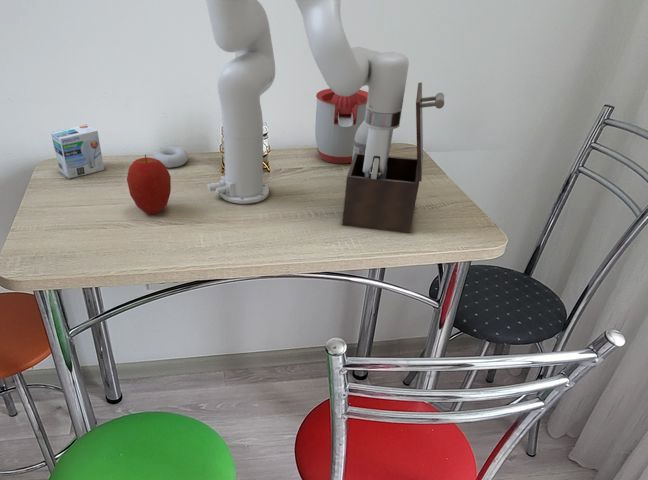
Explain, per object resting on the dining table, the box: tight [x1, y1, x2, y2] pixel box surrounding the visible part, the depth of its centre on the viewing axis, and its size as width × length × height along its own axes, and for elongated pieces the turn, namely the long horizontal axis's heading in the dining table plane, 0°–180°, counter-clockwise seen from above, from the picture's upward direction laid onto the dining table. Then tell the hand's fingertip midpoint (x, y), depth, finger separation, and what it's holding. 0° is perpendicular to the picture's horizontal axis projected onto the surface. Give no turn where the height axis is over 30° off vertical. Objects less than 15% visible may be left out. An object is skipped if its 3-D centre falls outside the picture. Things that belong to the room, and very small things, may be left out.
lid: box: [415, 82, 445, 183], centre depth 121 cm, size 16×15×5 cm
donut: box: [152, 145, 189, 169], centre depth 159 cm, size 10×4×10 cm
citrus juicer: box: [314, 88, 368, 164], centre depth 157 cm, size 16×17×20 cm
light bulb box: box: [50, 124, 105, 180], centre depth 152 cm, size 11×7×11 cm, turn 129°
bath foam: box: [352, 105, 369, 160], centre depth 143 cm, size 7×7×20 cm
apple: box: [126, 153, 172, 215], centre depth 132 cm, size 10×10×14 cm
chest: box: [341, 153, 420, 234], centre depth 132 cm, size 16×15×12 cm
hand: (372, 195), depth 133 cm, fingers closed on beverage can, 4 cm apart
